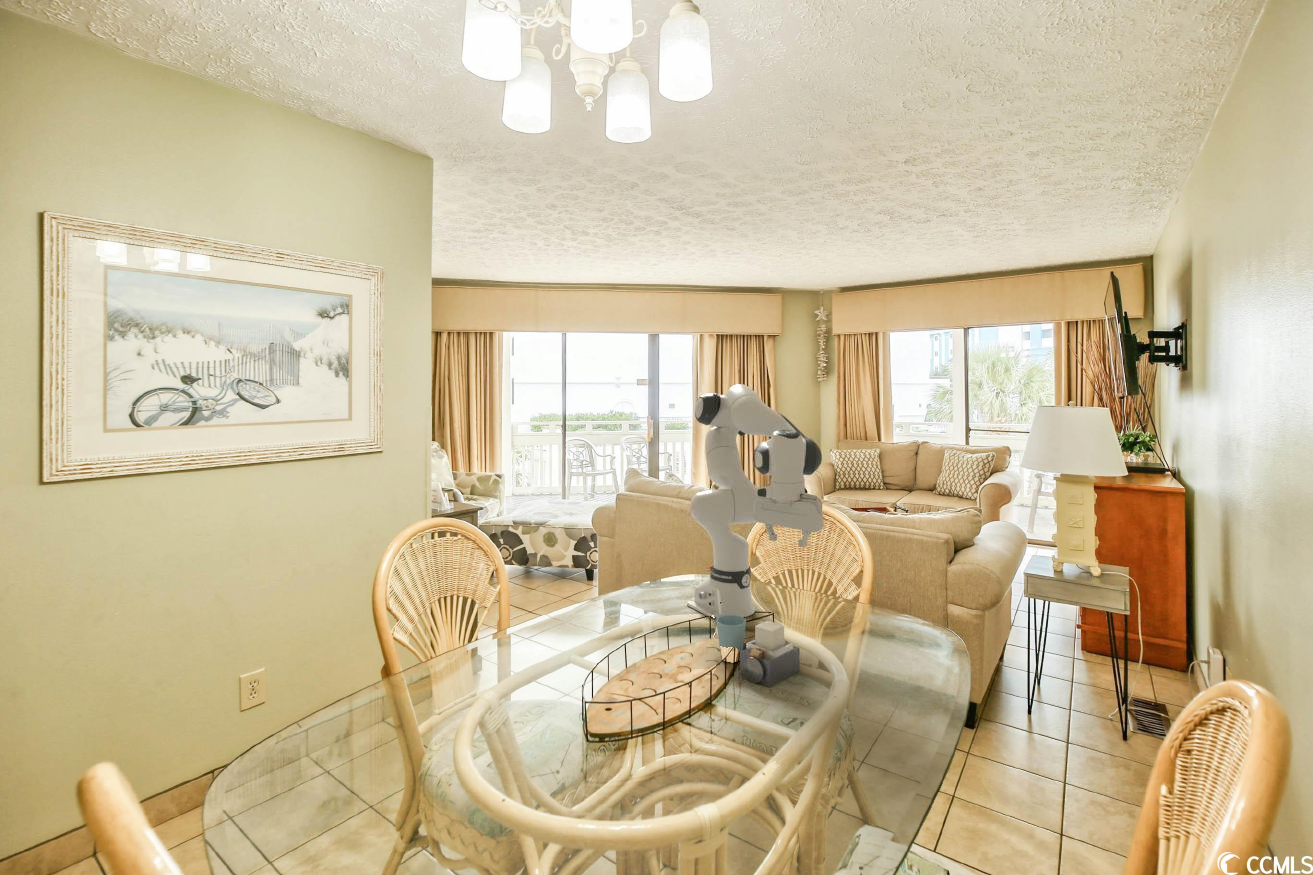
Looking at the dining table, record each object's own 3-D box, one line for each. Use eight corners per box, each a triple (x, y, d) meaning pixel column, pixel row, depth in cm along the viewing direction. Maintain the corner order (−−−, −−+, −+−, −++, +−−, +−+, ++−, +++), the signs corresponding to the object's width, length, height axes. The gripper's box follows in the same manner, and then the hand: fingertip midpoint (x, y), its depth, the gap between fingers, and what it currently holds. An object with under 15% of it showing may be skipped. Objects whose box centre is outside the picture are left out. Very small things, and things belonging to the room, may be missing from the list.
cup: (736, 668, 155) (736, 627, 154) (711, 660, 160) (710, 621, 159) (751, 657, 161) (751, 618, 160) (727, 650, 166) (726, 612, 165)
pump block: (755, 649, 152) (755, 625, 151) (771, 641, 156) (771, 618, 156) (771, 655, 148) (771, 631, 148) (787, 647, 152) (787, 624, 152)
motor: (737, 676, 151) (737, 646, 150) (772, 658, 160) (772, 630, 159) (767, 688, 144) (767, 657, 143) (801, 669, 153) (801, 640, 153)
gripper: (828, 494, 157) (828, 548, 158) (764, 486, 172) (764, 535, 173) (814, 497, 152) (814, 552, 153) (749, 489, 167) (750, 539, 168)
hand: (787, 543), depth 163 cm, fingers open, 8 cm apart
